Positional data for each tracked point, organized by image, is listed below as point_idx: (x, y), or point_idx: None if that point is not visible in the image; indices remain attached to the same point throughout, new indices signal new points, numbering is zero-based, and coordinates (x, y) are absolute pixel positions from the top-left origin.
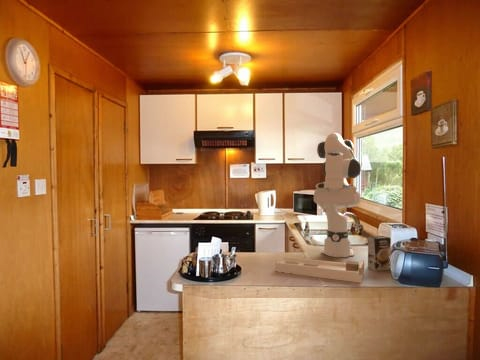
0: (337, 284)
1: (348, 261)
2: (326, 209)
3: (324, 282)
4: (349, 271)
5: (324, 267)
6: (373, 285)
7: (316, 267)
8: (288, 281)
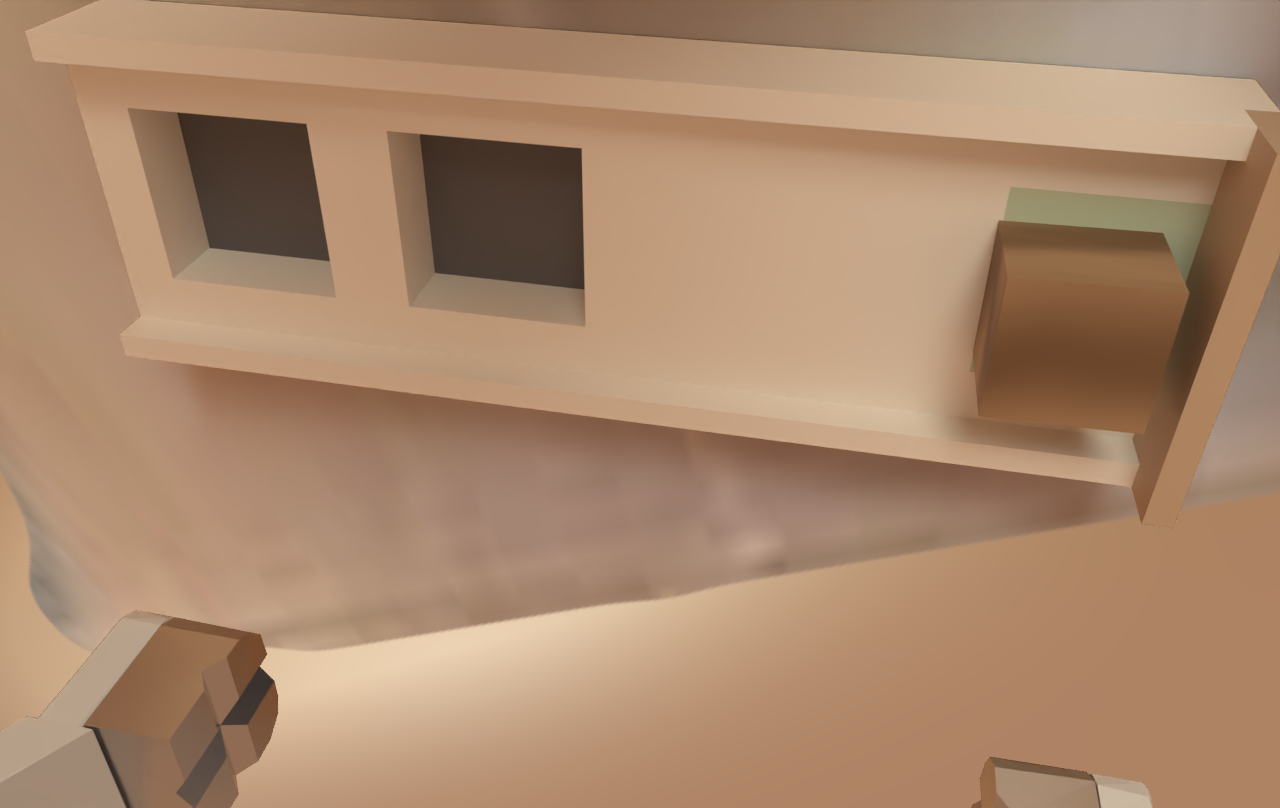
0: (874, 509)
1: (1023, 325)
2: (206, 726)
3: (741, 485)
4: (1015, 471)
5: (680, 248)
6: (1275, 462)
7: (606, 416)
8: (425, 526)
